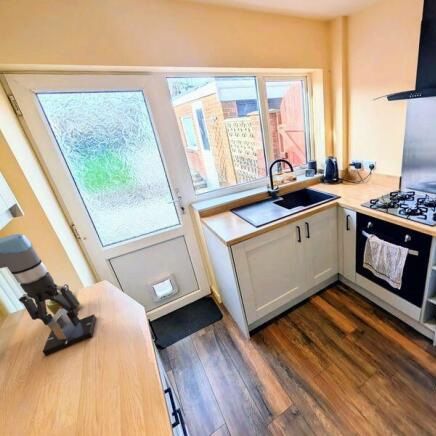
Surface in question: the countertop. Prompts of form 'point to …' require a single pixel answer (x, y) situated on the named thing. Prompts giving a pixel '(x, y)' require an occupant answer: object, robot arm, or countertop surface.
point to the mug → (55, 307)
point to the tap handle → (61, 325)
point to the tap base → (71, 336)
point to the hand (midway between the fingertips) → (66, 326)
